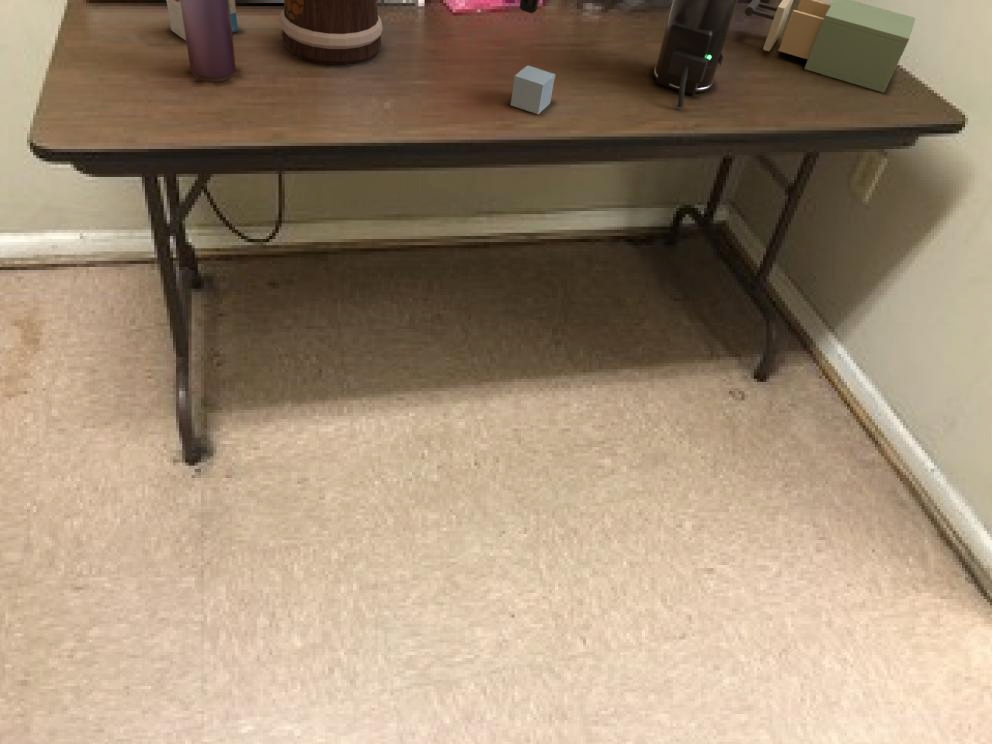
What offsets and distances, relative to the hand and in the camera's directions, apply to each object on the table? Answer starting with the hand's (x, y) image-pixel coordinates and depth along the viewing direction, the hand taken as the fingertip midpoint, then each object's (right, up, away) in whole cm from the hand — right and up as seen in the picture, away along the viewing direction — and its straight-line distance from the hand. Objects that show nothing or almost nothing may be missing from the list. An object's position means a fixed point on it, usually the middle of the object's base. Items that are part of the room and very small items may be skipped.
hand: (541, 2), depth 111 cm
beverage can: (-45, -9, +2) cm, 46 cm away
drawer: (+46, +7, +33) cm, 57 cm away
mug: (-32, +1, +15) cm, 35 cm away
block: (-1, -12, +7) cm, 14 cm away
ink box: (-50, +1, +11) cm, 51 cm away
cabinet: (+55, +3, +31) cm, 64 cm away
